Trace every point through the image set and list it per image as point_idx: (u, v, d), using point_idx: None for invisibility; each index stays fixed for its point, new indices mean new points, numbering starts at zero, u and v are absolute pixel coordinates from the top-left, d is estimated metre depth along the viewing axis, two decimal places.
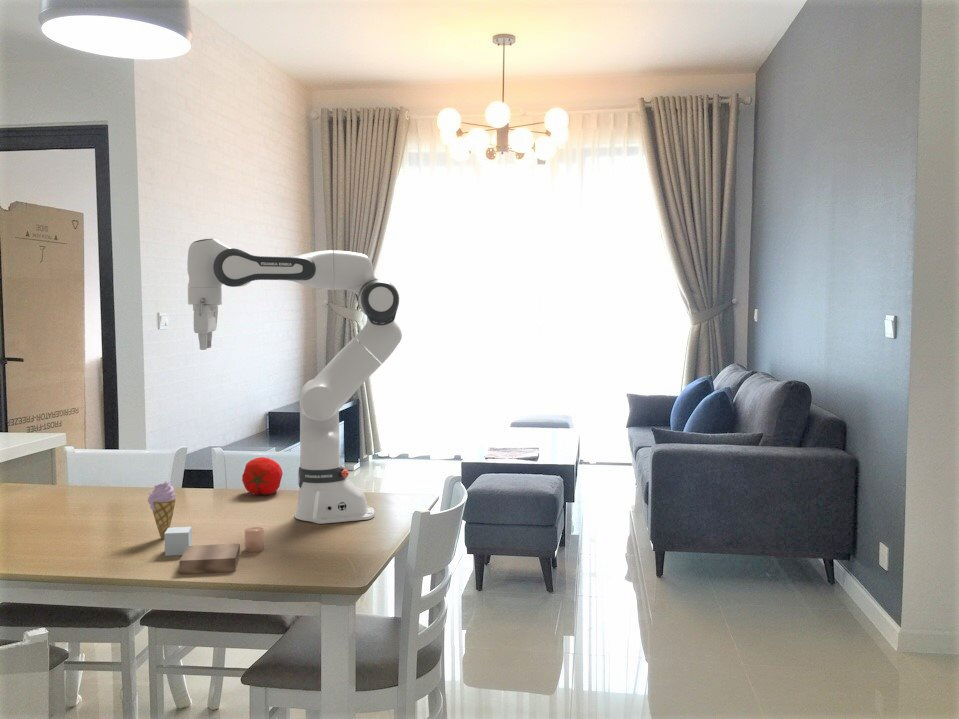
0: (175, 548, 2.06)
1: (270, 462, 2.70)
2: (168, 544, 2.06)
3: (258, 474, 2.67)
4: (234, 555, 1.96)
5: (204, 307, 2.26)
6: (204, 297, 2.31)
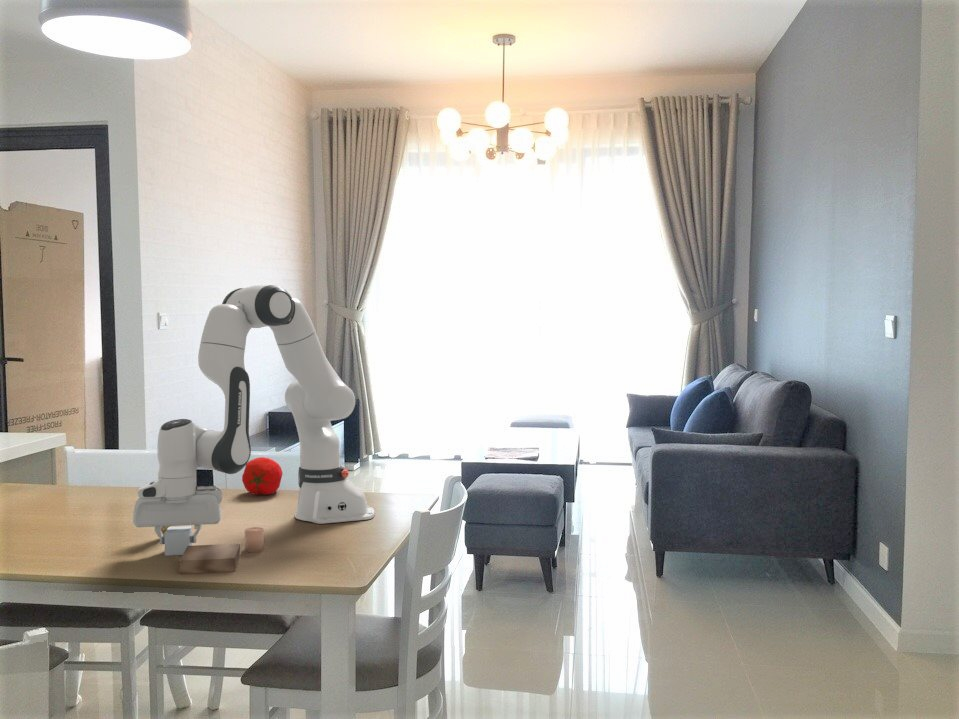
0: (175, 548, 2.06)
1: (270, 462, 2.70)
2: (168, 543, 2.06)
3: (258, 474, 2.67)
4: (234, 555, 1.96)
5: None
6: None
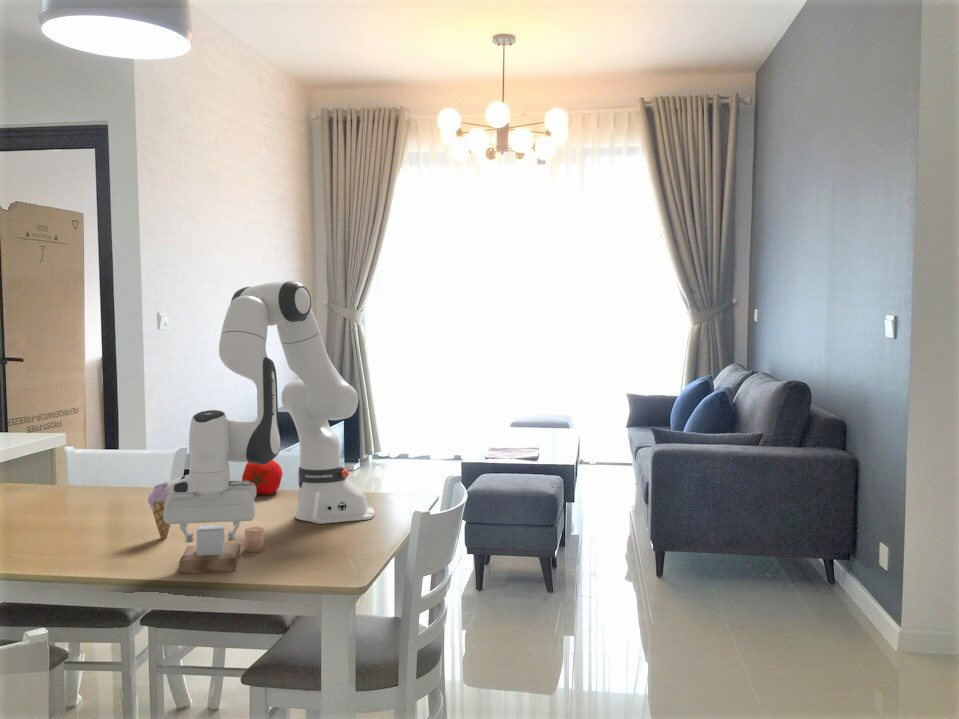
0: (208, 548, 1.96)
1: (270, 462, 2.70)
2: (200, 543, 1.95)
3: (258, 474, 2.67)
4: (234, 555, 1.96)
5: None
6: (229, 479, 1.99)
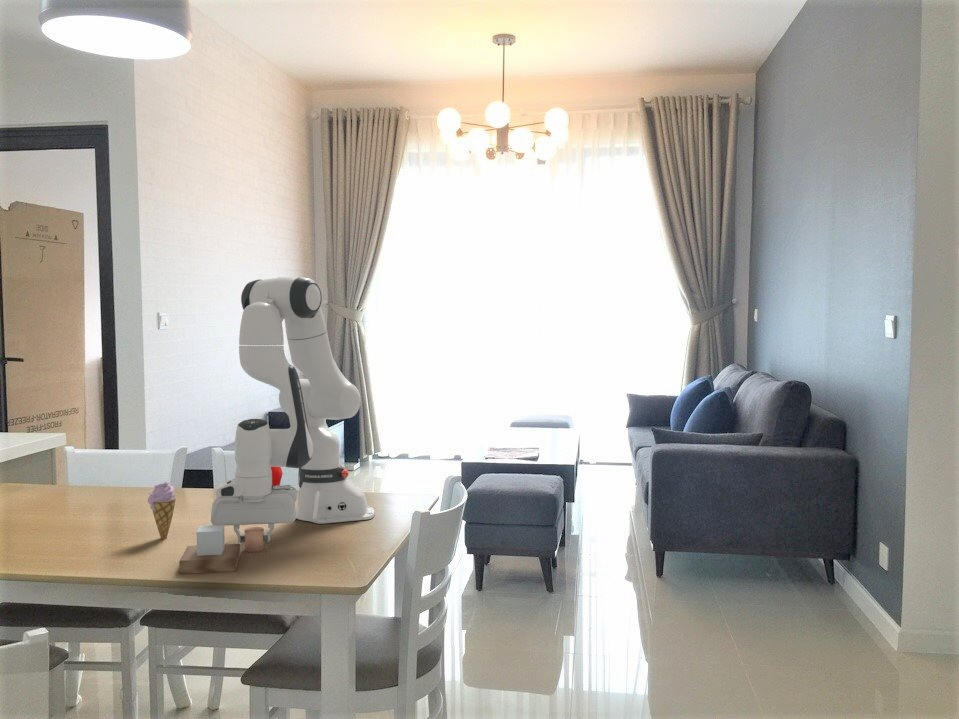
0: (208, 548, 1.96)
1: None
2: (200, 543, 1.95)
3: None
4: (234, 555, 1.96)
5: None
6: None
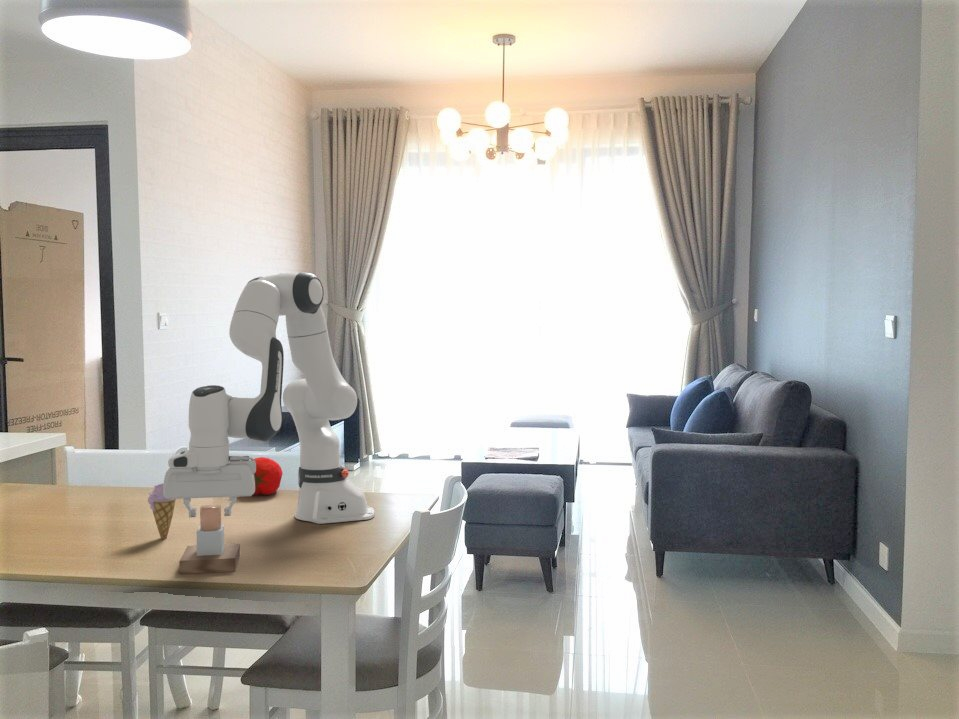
0: (208, 548, 1.96)
1: (270, 462, 2.70)
2: (200, 543, 1.95)
3: (258, 474, 2.67)
4: (234, 555, 1.96)
5: None
6: None
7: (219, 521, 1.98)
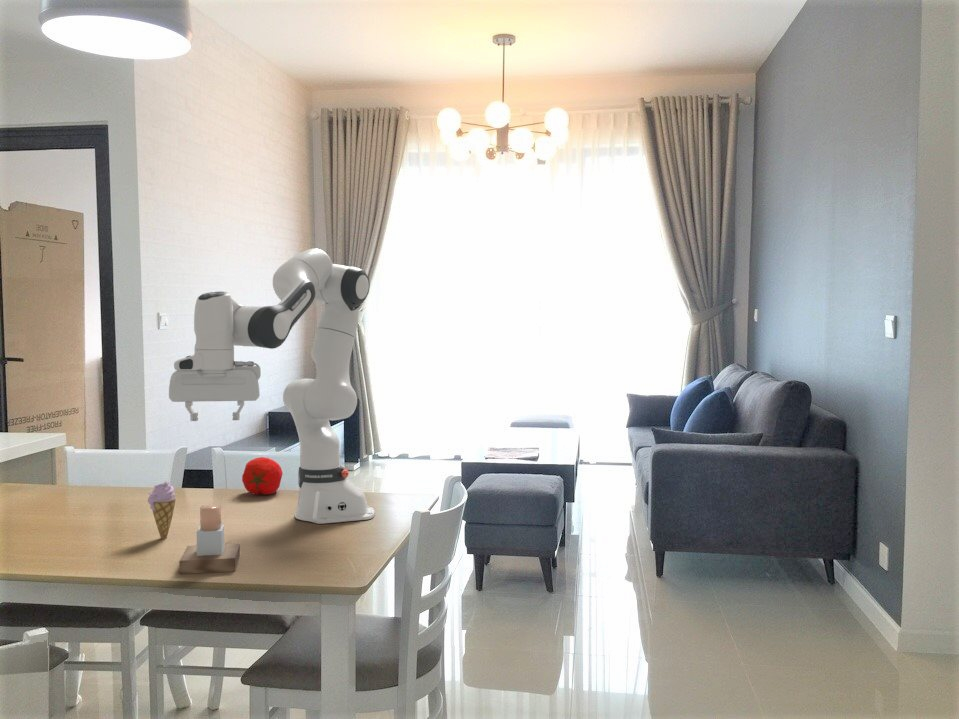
0: (208, 548, 1.96)
1: (270, 462, 2.70)
2: (200, 543, 1.95)
3: (258, 474, 2.67)
4: (234, 555, 1.96)
5: None
6: None
7: (219, 521, 1.98)
